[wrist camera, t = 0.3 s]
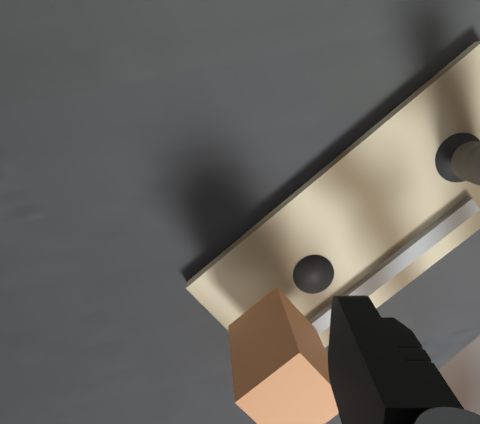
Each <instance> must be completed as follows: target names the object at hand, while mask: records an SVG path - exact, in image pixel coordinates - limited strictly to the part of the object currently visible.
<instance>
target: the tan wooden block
mask: <svg viewBox="0 0 480 424" xmlns="http://www.w3.org/2000/svg"><path fill="white" fill-rule="evenodd" d="M228 328H229V340H230V351H231V363H232V374H233V386H234V397H235V403H236V404H237V405H238V406H239V407H240V408H241V409H242V410H243V411H244V412H245V413H246V414H248V415H249V416H250V417H251V418H252V419H253V420H254V421H255V422H256V423H257V424H325V423H326V422H327V421H329V420H330V419H331V418H333V417H334V416H336V415H337V414H338V413H339V412H338V408H337V405H336V401H335V398H334V395H333V391H332V388H331V384H330V379H329V371H328V355H327V353H326V350H325V348H324V346H323V344H322V341H321V339H320V337H319V335H318V332H317V330H316V328H315V327H314V326H313V325H312V324H311V323H310V322H309V321H308V320H307V319H306V318H305V316H304V315H303V314H302V313H301V312H300V311H299V310H298V309H297V308H296V307H295V306H294V305H293V303H292V302H291V301H290V300H289V299H288V298H287V297H286V296H285V295H284V294H283V293H282V292H281V290H280V289H279V288H278V287H276V288H275V289H273V290H272V291H271V292H270V293H268V294H267V295H266V296H265V297H263V298H262V299H261V300H260V301H258V302H257V303H256V304H255V305H253V306H252V307H251V308H250V309H248V310H247V311H246V312H245V313H243V314H242V315H241V316H240V317H238V318H237V319H236V320H235V321H234V322H232V323H231V324H230V325H229V326H228Z"/></svg>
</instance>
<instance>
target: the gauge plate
mask: <svg viewBox="0 0 480 424" xmlns="http://www.w3.org/2000/svg"><path fill="white" fill-rule="evenodd" d="M479 229H480V41H479V42H474V43H473V44H472V45H470V46H469V47H468V48H467V49H466V50H464V51H463V52H462V53H461V54H460V55H458V56H457V57H456V58H455V59H454V60H452V61H451V62H450V63H449V64H448V65H446V66H445V67H444V68H443V69H442V70H440V71H439V72H438V73H437V74H436V75H434V76H433V77H432V78H431V79H430V80H428V81H427V82H426V83H425V84H424V85H422V86H421V87H420V88H419V89H418V90H416V91H415V92H414V93H413V94H412V95H410V96H409V97H408V98H407V99H406V100H404V101H403V102H402V103H401V104H400V105H398V106H397V107H396V108H395V109H394V110H392V111H391V112H390V113H389V114H388V115H386V116H385V117H384V118H383V119H382V120H380V121H379V122H378V123H377V124H376V125H374V126H373V127H372V128H371V129H370V130H368V131H367V132H366V133H365V134H364V135H362V136H361V137H360V138H359V139H358V140H356V141H355V142H354V143H353V144H352V145H350V146H349V147H348V148H347V149H346V150H344V151H343V152H342V153H341V154H340V155H338V156H337V157H336V158H335V159H334V160H332V161H331V162H330V163H329V164H328V165H326V166H325V167H324V168H323V169H322V170H320V171H319V172H318V173H317V174H316V175H314V176H313V177H312V178H311V179H310V180H308V181H307V182H306V183H305V184H304V185H302V186H301V187H300V188H299V189H298V190H296V191H295V192H294V193H293V194H292V195H290V196H289V197H288V198H287V199H286V200H284V201H283V202H282V203H281V204H280V205H278V206H277V207H276V208H275V209H274V210H272V211H271V212H270V213H269V214H268V215H266V216H265V217H264V218H263V219H262V220H260V221H259V222H258V223H257V224H256V225H254V226H253V227H252V228H251V229H250V230H248V231H247V232H246V233H245V234H244V235H242V236H241V237H240V238H239V239H238V240H236V241H235V242H234V243H233V244H232V245H230V246H229V247H228V248H227V249H226V250H224V251H223V252H222V253H221V254H220V255H218V256H217V257H216V258H215V259H214V260H212V261H211V262H210V263H209V264H208V265H206V266H205V267H204V268H203V269H202V270H200V271H199V272H198V273H197V274H196V275H194V276H193V277H192V278H191V279H190V280H188V281H187V283H186V289H187V290H188V291H189V292H190V293H191V294H192V295H193V296H194V297H195V298H196V299H197V300H198V301H199V302H200V303H201V304H202V305H203V306H204V307H205V308H206V309H207V310H208V311H209V312H210V313H211V314H212V315H213V316H214V317H215V318H216V319H217V320H218V321H219V322H220V323H221V324H222V325H223V326H224V327H225V328H226V329H227V330H228V331H229V328H228V326H229V325H230V324H231V323H232V322H234V321H235V320H236V319H237V318H238V317H240V316H241V315H242V314H243V313H245V312H246V311H247V310H248V309H250V308H251V307H252V306H253V305H255V304H256V303H257V302H258V301H260V300H261V299H262V298H263V297H265V296H266V295H267V294H268V293H270V292H271V291H272V290H273V289H275V288H276V287H278V288H279V289H280V290H281V292H282V293H283V294H284V295H285V296H286V297H287V298H288V299H289V300H290V301H291V302H292V303H293V305H294V306H295V307H296V308H297V309H298V310H299V311H300V312H301V313H302V314H303V315H304V316H305V318H306V319H307V320H308V321H309V322H310V323H311V324H312V325H313V326H314V327H315V328H316V330H317V332H318V335H319V337H320V339H321V341H322V344H323V346H324V348H325V347H327V346H328V345H329V334H330V319H331V305H332V299H333V297H334V296H347V295H367V296H369V298H370V299H371V301H372V303H373V304H374V306H375V308H377V307H379V306H380V305H381V304H382V303H384V302H385V301H386V300H388V299H389V298H390V297H392V296H393V295H394V294H395V293H397V292H398V291H399V290H401V289H402V288H403V287H405V286H406V285H407V284H408V283H410V282H411V281H412V280H414V279H415V278H416V277H418V276H419V275H420V274H421V273H423V272H424V271H425V270H427V269H428V268H429V267H431V266H432V265H433V264H434V263H436V262H437V261H438V260H440V259H441V258H442V257H444V256H445V255H446V254H447V253H449V252H450V251H451V250H453V249H454V248H455V247H457V246H458V245H459V244H460V243H462V242H463V241H464V240H466V239H467V238H468V237H470V236H471V235H472V234H473V233H475V232H476V231H477V230H479Z"/></svg>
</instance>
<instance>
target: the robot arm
mask: <svg viewBox="0 0 480 424" xmlns="http://www.w3.org/2000/svg"><path fill="white" fill-rule="evenodd" d="M328 371H329V379H330V384H331V388H332V391H333V395H334V398H335V401H336V405H337V408H338V412H339V415H340V418H341V422H342V424H480V415H478V414H476V413H473V412H470V411H467V410H464V408H463V407H462V405H461V404H460V402H459V401H458V399H457V398H456V396H455V395H454V394H453V392H452V390H451V389H450V387H449V386H448V385H447V383H446V381H445V380H444V378H443V377H442V375H441V374H440V372H439V371H438V369H437V368H436V366H435V365H434V363H431V359H430V357H429V356H428V354H427V353H426V351H425V350H423V349H422V345H421V344H420V342H419V341H418V339H417V338H416V336H415V335H414V333H413V332H412V331H411V330H410V329H409V328H407V327H406V326H404V325H403V324H402V323H400V322H399V321H397V320H396V319H395V318H381V316H380V315H379V313H378V311H377V310H376V308H375V306H374V304H373V303H372V301H371V299H370V298H369V296H367V295H347V296H334V297H333V299H332V305H331V319H330V334H329V348H328Z"/></svg>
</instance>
